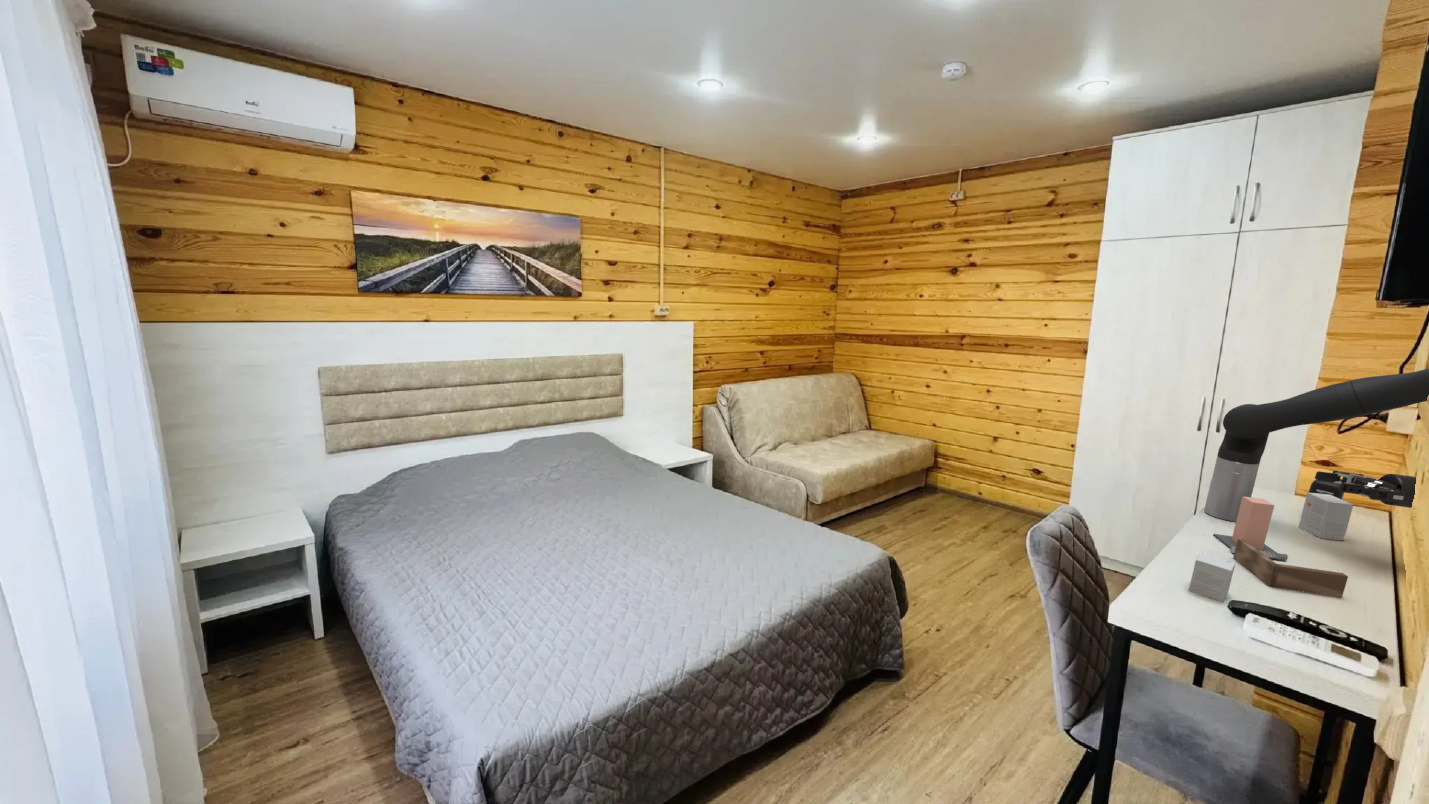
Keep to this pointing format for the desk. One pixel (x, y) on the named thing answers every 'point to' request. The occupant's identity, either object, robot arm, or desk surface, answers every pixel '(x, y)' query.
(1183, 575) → the desk surface
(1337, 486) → the battery charger
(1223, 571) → the product box
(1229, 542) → the mat
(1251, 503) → the tall pink rectangular block
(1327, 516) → the small box
